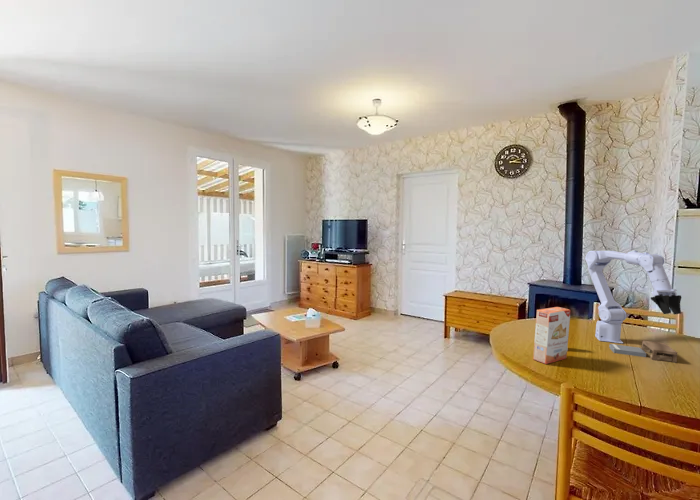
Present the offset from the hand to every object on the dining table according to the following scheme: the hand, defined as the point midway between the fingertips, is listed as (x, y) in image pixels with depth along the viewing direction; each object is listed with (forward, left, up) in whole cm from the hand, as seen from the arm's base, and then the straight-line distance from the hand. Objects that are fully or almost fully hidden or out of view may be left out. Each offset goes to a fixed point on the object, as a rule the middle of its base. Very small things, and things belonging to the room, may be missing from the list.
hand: (672, 313), depth 138 cm
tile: (-12, +5, -20) cm, 24 cm away
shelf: (-1, +5, -20) cm, 21 cm away
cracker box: (-44, -19, -20) cm, 52 cm away
